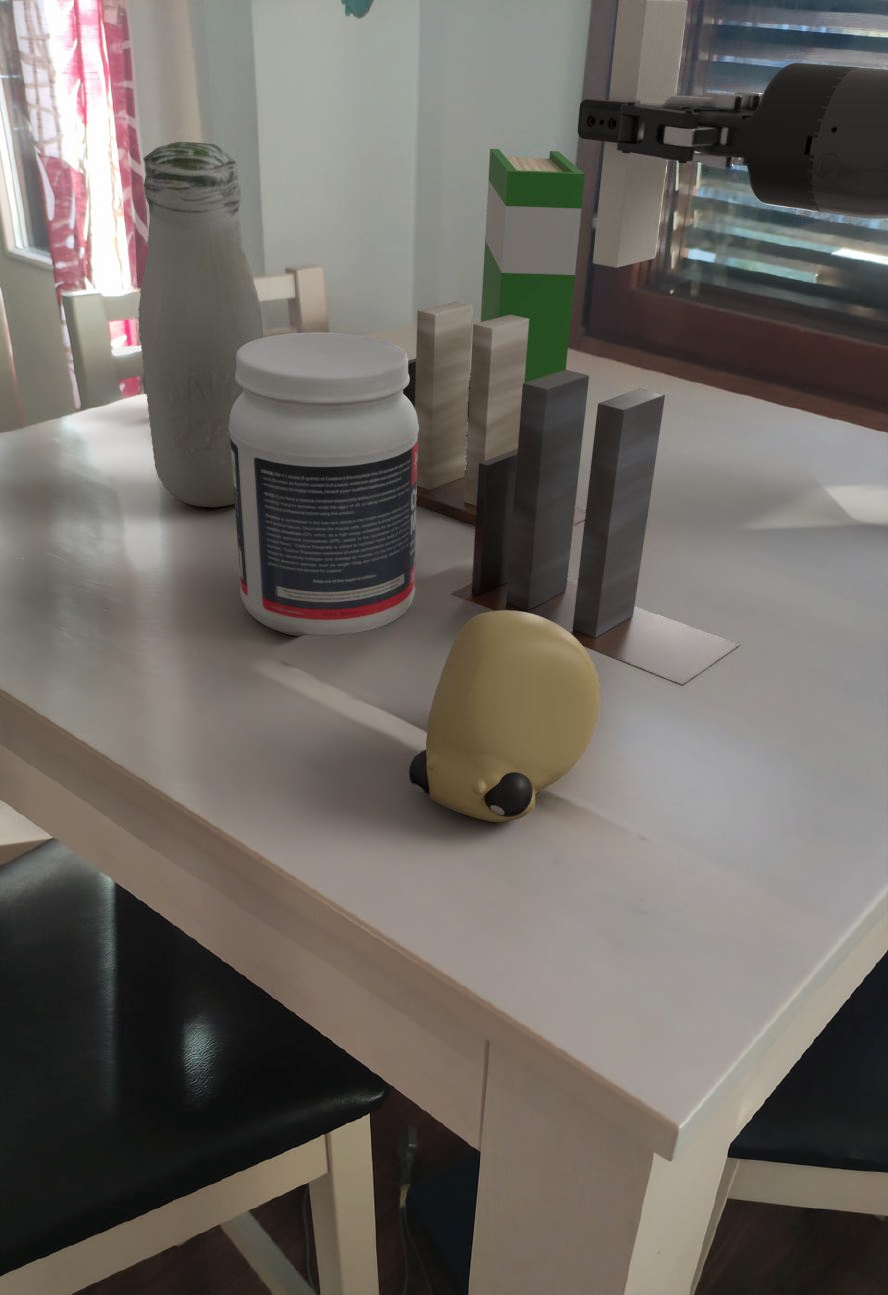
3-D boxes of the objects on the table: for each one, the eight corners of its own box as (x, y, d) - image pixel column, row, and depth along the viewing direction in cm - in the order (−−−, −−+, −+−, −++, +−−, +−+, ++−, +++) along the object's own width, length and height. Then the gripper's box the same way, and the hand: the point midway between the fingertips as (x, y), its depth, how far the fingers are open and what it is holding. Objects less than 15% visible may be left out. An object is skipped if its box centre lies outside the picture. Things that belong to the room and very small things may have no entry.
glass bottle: (158, 526, 98) (118, 149, 82) (157, 483, 106) (120, 132, 90) (276, 521, 100) (259, 151, 84) (266, 479, 108) (249, 135, 92)
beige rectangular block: (655, 258, 82) (688, 0, 73) (616, 268, 78) (646, -2, 70) (631, 254, 83) (661, -2, 74) (592, 263, 79) (618, -3, 71)
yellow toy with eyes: (430, 806, 73) (348, 766, 63) (502, 629, 73) (432, 563, 64) (569, 860, 68) (503, 825, 59) (645, 671, 69) (592, 607, 59)
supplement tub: (450, 611, 87) (462, 358, 76) (317, 666, 79) (311, 393, 69) (336, 557, 94) (333, 319, 84) (205, 603, 86) (183, 346, 76)
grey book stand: (738, 657, 83) (787, 417, 73) (680, 698, 78) (725, 446, 68) (514, 573, 93) (532, 353, 83) (450, 605, 88) (461, 374, 78)
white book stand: (598, 524, 102) (620, 334, 93) (544, 550, 97) (563, 351, 88) (426, 467, 112) (431, 291, 103) (369, 487, 107) (369, 304, 98)
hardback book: (477, 376, 139) (490, 148, 125) (539, 378, 139) (558, 151, 126) (491, 423, 124) (507, 171, 111) (560, 424, 125) (584, 174, 111)
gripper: (911, 64, 71) (669, 47, 79) (808, 70, 62) (546, 50, 70) (881, 201, 75) (654, 171, 84) (779, 226, 66) (537, 189, 75)
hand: (606, 116), depth 77 cm, fingers closed on beige rectangular block, 5 cm apart
